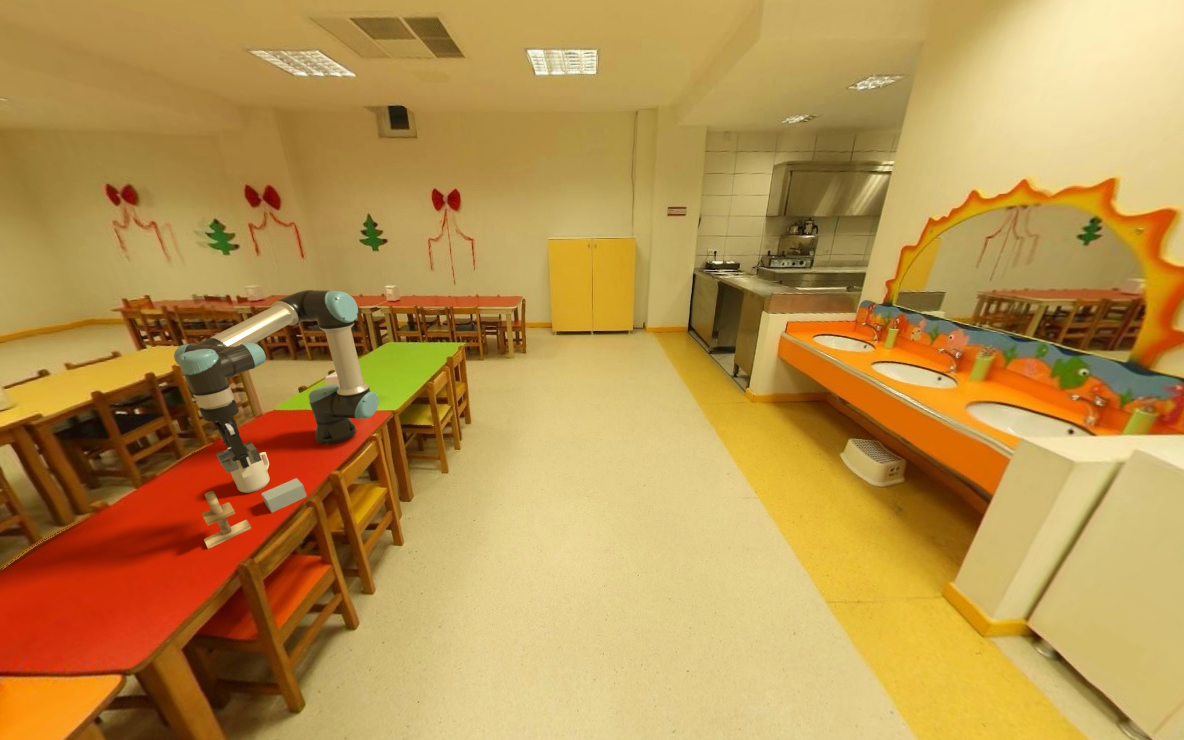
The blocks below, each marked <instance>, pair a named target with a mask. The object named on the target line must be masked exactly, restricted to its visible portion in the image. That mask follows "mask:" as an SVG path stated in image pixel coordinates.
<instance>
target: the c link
mask: <svg viewBox="0 0 1184 740" xmlns="http://www.w3.org/2000/svg"><path fill="white" fill-rule="evenodd" d="M243 444H244V446H245V449H246V451H247V453H248V454H249V457H248V458H249V460H250V462H251V464H253V463H256V462H259V461H261V460H262V459H263V458H262V459H261V457H260V452H259V450H258V449H257V447H255V445H254V444H253V443H252V442H251V441H248V442H245V443H243ZM229 448H230V447H229ZM215 455H216V457H217V459H218V461H219V463H220V465H221V466H222V467H223V468H224V471H225V472H226V474H231V472H233V471H235V470H238V469H239V467H238V465H237V462H236V461H233V459H235V455H234V453H233V451H232V449H231V448H230V449H225V450H222V451H219V452H216V454H215Z"/></svg>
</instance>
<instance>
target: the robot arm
mask: <svg viewBox="0 0 1184 740" xmlns="http://www.w3.org/2000/svg"><path fill="white" fill-rule="evenodd" d="M358 307H359V306H358V304H357V301H356V300H355V298H353V296H352V295H350V294H349V293H348V292H344V291H338V290H318V289H317V290H313V289H309V290H308V289H307V290H302V291H298V292H294V293H292V294H289V295H287V296H285V297H282V298H281V299H278V300H277V301H274V302H273V303H272V304H271V307H269V308H268V309H266V310H264V311H261V312H259V313H257V314H255V315H253V316H251V317H249V318H247V319H246V320H243V321H242V322H239V323H237V324H235V325H233V326H231V327H229V328H227V329H225V330H223V331H221V332H219V333H217V334H215V335H213V336H211V337H209V338H207V339H205V340H203V341H201V342H198V343H189V344H186V343H185V344H182V345H180V346H179V347H177V348H176V349H175V351H174V354H173V359H174V360H175V363H176V364H177V365H178V366H179V367H180V370H181V373H182V375H183V376H184V378H185V380H186V383H187V385H188V387H189V389H190V391H191V393H192V395H193V397H192V398H191V401H192V402H196V403H195V404H196V405H197V407H198V408H199V412H200V414H201V416H202V418H203V420H204V421H206V422H211V423H212V422H214V425H215V428H216V429H217V431H218V432H219V434H220V435H221V438H222V442H223V444H225V447H226V448H227V449H230V448H231V449H232V451H233V453H234V455H235V459H233V461H236V462H237V465H238V467H239V469H240V472H241V474H242V476H243V478H245V477H247V476H250V475H252V474H255V472H254V470H253V467H252V465H251V462H250V460H249V458H248V457H249V454H248V453H247V451H246V449H245V446H244V444H245V443H244V442H243V440H242V438H241V435H240V431H239V428H238V427H237V422H236V420H234V418H233V417H234V416H236V415H238V413H239V412H240V411H239V406H238V405H237V402H236V400H235V396H234V394H233V393H234V392H233V391H232V389H231V386H230V384H229V381H228V379H229V378H231V377H234V376H237V375H240V374H242V373H245V372H247V371H250V370H254V369H256V368H257V367H259V366H261V365H263V364H264V363H265V362H266V358H267V356H266V353H265V351H264V349H263V348H262V347H261V346H260V345H259V344H257V343H258V342H260V341H261V340H263V339H266V337H269V336H271V335H272V334H274V333H276V332H278V331H279V330H281V329H284V328H285V327H286V326H295V325H296V324H298V323H301V322H307V321H314V322H317V325H318V328H319V329H320V330H322V331H323V332H325V336H326V339H327V344H328V347H329V351H330V355H331V359H332V362H333V366H334V370H335V373H336V377H337V380H338V384H333V383H332V384H328V385H324V386H320V387H317V388H315V389H314V390H312V391H310V393H309V394H308V400H309V402H308V403H309V405H310V409H311V411H312V415H313V418H314V420H315V423H316V425H315V426H316V428H315V436H314V437H315V441H316V442H317V443H318V444H319V445H322V446H323V445H334V444H339V442H340V443H342V441H343V442H345V441H347V440H349V439H351V438H352V437H354V436H355V435H354V434H356V433H357V428H356V425H355V424H354V422H353V421H352V419H356V420H367V419H370V418H371V417H373V415H374V414H375V413H376V412H377V409H378V407H379V402H380V400H379V395H378V394H377V393H376V392H375V391H371V389H370V385H369V384H368V383H366V382H364V378H363V374H362V370H361V365H360V362H359V357H358V353H357V350H356V348H357V347H356V345H355V341H354V336H353V332H352V327H353V326H354V325H355V320H357V318H358V314H359V308H358ZM353 435H354V436H353ZM350 437H351V438H350ZM344 440H345V441H344ZM227 449H226V450H227Z"/></svg>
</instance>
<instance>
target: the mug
mask: <svg viewBox="0 0 1184 740" xmlns="http://www.w3.org/2000/svg"><path fill="white" fill-rule="evenodd" d="M259 454H260V457H261V459H262V460H261V461H259V462H256V463H253V464H251V465H252V467H253V470H254V472H255V474H252V475H250V476H247V477H245V478H243V476H242V474H241V472H240V469H238V470H235V471H233V472H230V474H231V476H232V479H233V481H234V483H235V485H236V487H237V488H236V489H237V490H238V491H239V492H241V493H245V494H247V493H253V492H254V493H255V492H257V491H260V490H262V489H264V488H265V487H266V486H267V485H268V484H269V482H270V481H271V480H270V479H271V478H270V475H269V472H268V469H269V466H270V462H269V458H268V455H267V452H266V451H264V452H259Z"/></svg>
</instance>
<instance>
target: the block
mask: <svg viewBox="0 0 1184 740" xmlns="http://www.w3.org/2000/svg"><path fill="white" fill-rule="evenodd" d="M261 497H262V499H263V502H264V504H265V506H266V507H267V508H268V510H269V512H270V513H274V512H277V511H279V510H281V509H283V508H286V507H288V506H290V505H292V504H294V503H296V502H298V501H300V500H302V499H304V498H306V497H307V493H306V491H305V487H304V484H303V483H302V482H301V481H300V480H299V479H298V478H297V477H295V478H294V479H291V480H289V481H287V482H285V483H281V484H280V485H277V486H275V487H273V488H270V489H268V490H266V491H264V492H262V493H261ZM307 498H308V497H307Z"/></svg>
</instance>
